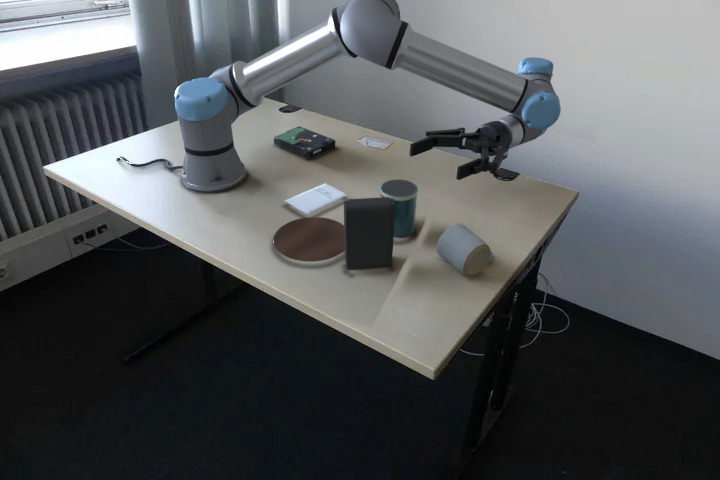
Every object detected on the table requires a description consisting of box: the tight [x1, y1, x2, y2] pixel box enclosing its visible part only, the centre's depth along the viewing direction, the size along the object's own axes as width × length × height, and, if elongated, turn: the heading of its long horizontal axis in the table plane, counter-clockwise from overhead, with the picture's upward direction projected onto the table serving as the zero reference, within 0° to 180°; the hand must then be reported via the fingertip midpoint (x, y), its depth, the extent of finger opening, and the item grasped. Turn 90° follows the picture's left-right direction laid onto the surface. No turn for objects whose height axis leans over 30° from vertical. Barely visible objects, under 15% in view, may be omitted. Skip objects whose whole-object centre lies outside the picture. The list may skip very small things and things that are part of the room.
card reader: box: [343, 196, 395, 271], centre depth 96 cm, size 9×4×15 cm, turn 97°
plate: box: [272, 216, 345, 262], centre depth 107 cm, size 16×16×1 cm
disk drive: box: [273, 125, 336, 160], centre depth 145 cm, size 10×3×15 cm
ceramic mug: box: [436, 223, 494, 276], centre depth 100 cm, size 11×8×8 cm
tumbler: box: [379, 178, 419, 239], centre depth 107 cm, size 8×8×11 cm
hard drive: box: [283, 183, 348, 216], centre depth 120 cm, size 2×8×12 cm
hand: (433, 161), depth 108 cm, fingers open, 13 cm apart
